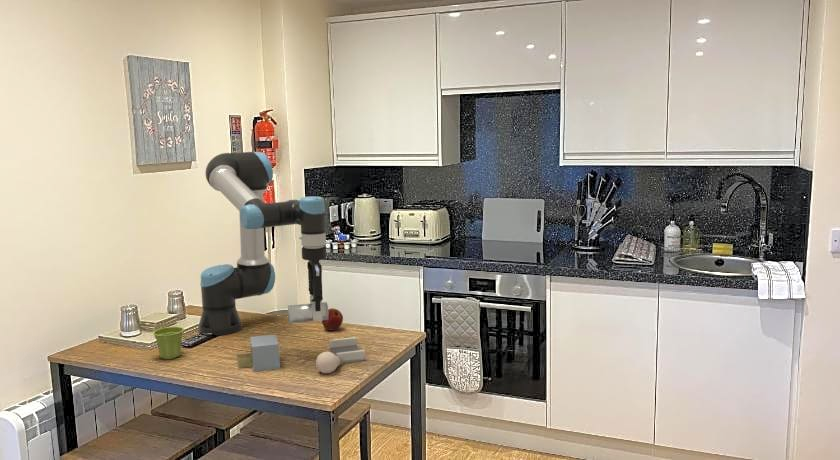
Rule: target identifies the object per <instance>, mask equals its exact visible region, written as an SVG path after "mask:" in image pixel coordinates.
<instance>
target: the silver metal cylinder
mask: <svg viewBox="0 0 840 460" xmlns="http://www.w3.org/2000/svg"><path fill="white" fill-rule="evenodd" d="M328 305H329V304H328V302H327V301H324V302H323V301H322V320H328V317H329V313H328V310H329V306H328ZM287 315H288V323H289V324H296V323H297V324H298V323H307V322H314V321H313V303H311V304H310V303H303V304H292V305H291V304H290V305H288V306H287Z"/></svg>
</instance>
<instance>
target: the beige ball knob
mask: <svg viewBox="0 0 840 460" xmlns="http://www.w3.org/2000/svg"><path fill="white" fill-rule="evenodd" d="M342 362H343V361H342V358H341V357H337V356H335V354H333V353H331V351H327V350H326V351H324V352H321V353H320V354H318V356H317V358H316V361H315V367H316V368H317V370H318V371H319V372H320V373H323V374H330V373H333V372H334V371H335V370H336V369H337V367H339V366H341V365H342V364H343V363H342Z"/></svg>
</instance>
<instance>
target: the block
mask: <svg viewBox="0 0 840 460" xmlns="http://www.w3.org/2000/svg"><path fill="white" fill-rule="evenodd" d="M249 340H250V353H252V359H253V367H252V371H253V372H260V371H262V372H263V371H269V370H270V371H272V370H278V369H281V364H280V363H281V361H280V360H281V359H280V343H279V340H278V338H277V334H266V335H265V334H264V335H257V336H250V337H249Z"/></svg>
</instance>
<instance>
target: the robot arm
mask: <svg viewBox="0 0 840 460" xmlns="http://www.w3.org/2000/svg"><path fill="white" fill-rule="evenodd" d="M273 172H274V171H273V165H272V162H271V160H270V159H269V157H268V155H266V154H265V153H264V152H260V151H259V152H258V151H245V152H243V151H242V152H241V151H240V152H223V153H219V154H217V155H216V156H214V157H213V158H211V159H210V161H208V163H207V166H206V167H205V172H204V173H205V179H206V181H207V183H208V184H209V186H210V187H211V188H212V189H213V190H215V191H218V192H220V193H221V194H222V195H223V196H224V197H225V198H226V199H227V200H228V201H229V202H230V203H231V204H232V205H233V206H234V208H236V209H237V210H238V211H239V238H240V239H239V240H240V258H238V259H237V260H236V267H234V266H233V264H217V265H214V266H210V267H208V268H206V269H204V270H203V271H202V272H201V274H200V288H201V289H200V291H201V303H202V307H201V308H202V313H201V316H200V321H199V323H198V333H200V334H201V335H204V334H203V333H212V334H215V335H216V336H224V335H230V334H233V333H237V332H238V331H240V330H242V328H243V325H242V323H243V322H242V319H241V317H240V315H239V312H238V310H237V307H236V300H238V299H245V298H250V297H256V296H257V297H258V296H262V295H264V294H268V293H270V292H271V291H272V290H273V288H274V286H275V282H276V271H275V268H274V265H273V264H272V263H270V261H269V259H268V258H267V257H266V256H265V229H264V228H273V227H281V226H282V227H283V226H292V225H298V226H299V225H300V233H301V234H300V235H301V236H299V240H301V246H302V248H301V259H302V260H305V261H307V265H306V266H307V272H308V273H307V275H308V276H307V277H308V292H309V293H308V294H309V304H311V303H313V321H312V322H318V321H321V322H322V302H323V300H324V297H323V280H322V279H323V277H322V276H323V270H322V269H323V267H322V264H321V262H320V261H321V260H325V259H326V258H327V247H326V245H327V239H326V238H327V236H326V207H325V200H324V198H323V197H322V196H316V195H315V196H313V195H312V196H303V197H301V198H300V199H299V200H298V199H287V200H285V201H280V202H279V201H277V202H268V203H266V202H264V193H265V192H266V191H267V190H268V184H271V182H272V181H273V178H274V173H273Z"/></svg>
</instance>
